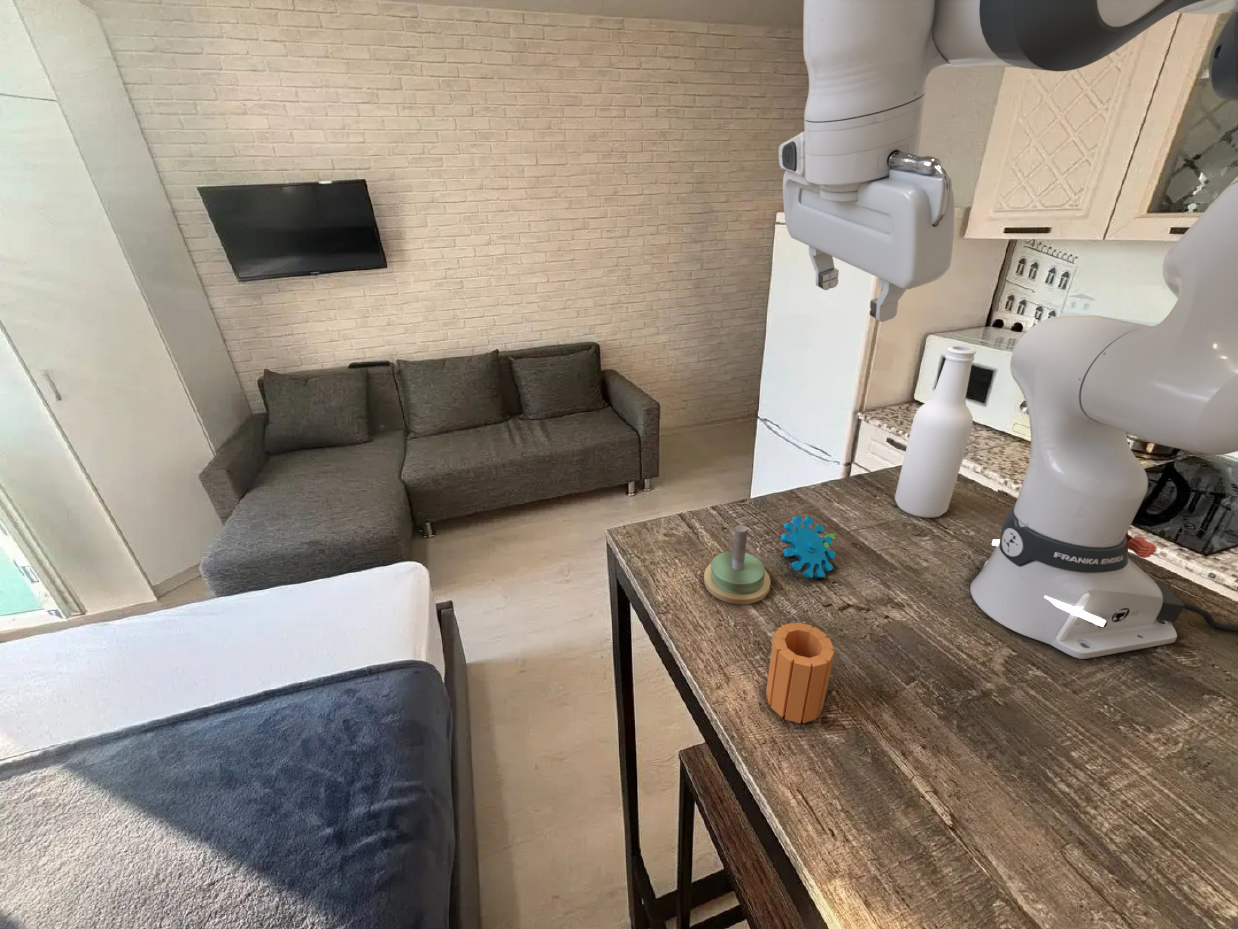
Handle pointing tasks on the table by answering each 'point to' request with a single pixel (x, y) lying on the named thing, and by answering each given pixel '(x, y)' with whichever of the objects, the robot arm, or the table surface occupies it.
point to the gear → (808, 547)
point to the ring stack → (737, 574)
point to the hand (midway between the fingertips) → (852, 301)
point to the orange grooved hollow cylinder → (799, 671)
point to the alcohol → (938, 441)
